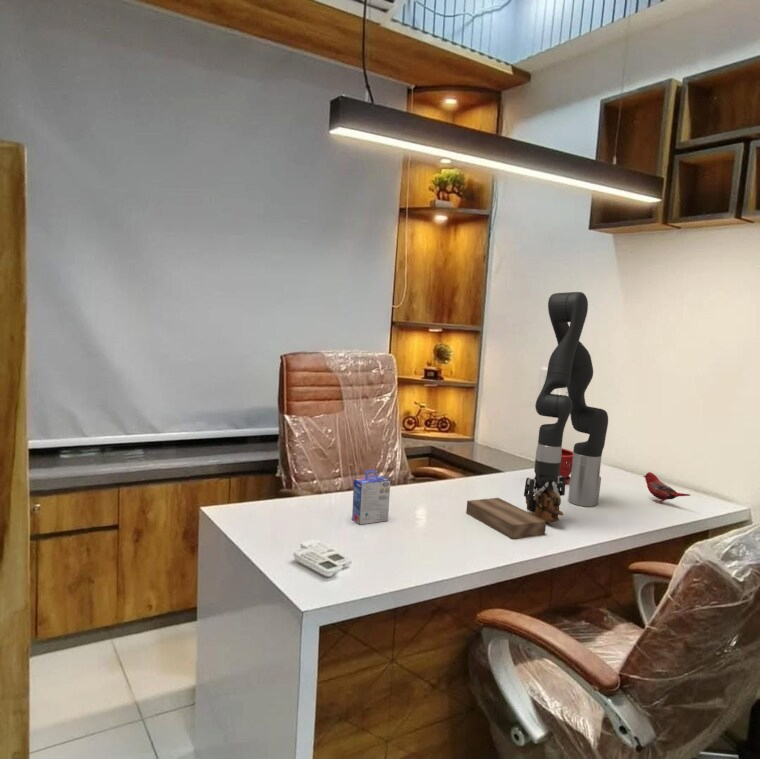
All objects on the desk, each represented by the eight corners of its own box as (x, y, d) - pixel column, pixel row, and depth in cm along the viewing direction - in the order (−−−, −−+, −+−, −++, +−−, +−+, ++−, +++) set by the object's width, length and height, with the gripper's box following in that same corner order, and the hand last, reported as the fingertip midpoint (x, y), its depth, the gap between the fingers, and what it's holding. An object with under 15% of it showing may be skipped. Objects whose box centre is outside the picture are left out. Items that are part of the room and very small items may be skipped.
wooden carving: (519, 512, 191) (522, 481, 190) (530, 510, 193) (533, 480, 192) (554, 530, 176) (557, 497, 175) (566, 529, 178) (569, 496, 177)
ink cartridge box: (379, 515, 179) (382, 467, 177) (389, 521, 174) (392, 472, 173) (350, 519, 174) (353, 470, 172) (359, 525, 169) (363, 475, 167)
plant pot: (530, 476, 236) (533, 446, 235) (560, 476, 239) (563, 447, 238) (547, 486, 224) (550, 454, 222) (578, 486, 227) (582, 455, 225)
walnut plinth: (497, 509, 192) (498, 497, 191) (544, 534, 172) (546, 521, 172) (466, 513, 186) (467, 500, 186) (511, 539, 167) (513, 525, 166)
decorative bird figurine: (643, 496, 218) (646, 470, 217) (690, 512, 204) (694, 483, 203) (638, 497, 217) (641, 470, 215) (686, 513, 202) (690, 484, 201)
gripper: (557, 454, 189) (551, 504, 191) (521, 456, 182) (516, 508, 184) (574, 460, 182) (568, 512, 184) (538, 463, 176) (533, 516, 178)
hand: (542, 510), depth 184 cm, fingers open, 8 cm apart
